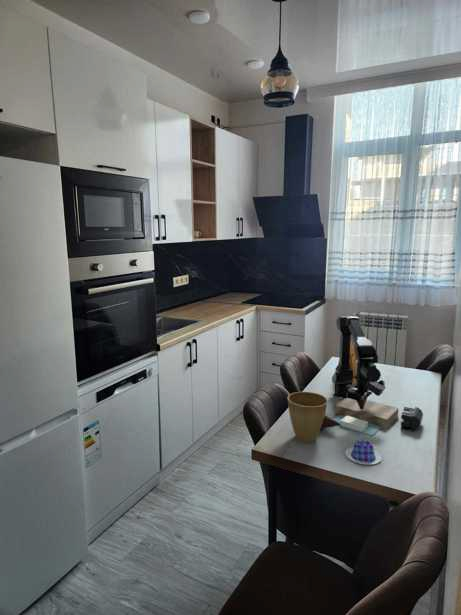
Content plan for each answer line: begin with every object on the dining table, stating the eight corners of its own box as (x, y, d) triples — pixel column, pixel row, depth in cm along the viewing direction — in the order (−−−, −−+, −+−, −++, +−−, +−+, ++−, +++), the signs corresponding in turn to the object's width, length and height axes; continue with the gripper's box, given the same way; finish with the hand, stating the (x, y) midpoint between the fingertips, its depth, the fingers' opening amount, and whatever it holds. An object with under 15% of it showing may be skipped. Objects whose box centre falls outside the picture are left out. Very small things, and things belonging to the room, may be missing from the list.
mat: (329, 422, 168) (329, 422, 168) (339, 415, 175) (339, 414, 175) (372, 436, 156) (372, 435, 156) (381, 427, 163) (381, 426, 163)
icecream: (343, 414, 161) (307, 409, 169) (338, 416, 155) (300, 411, 163) (342, 431, 161) (306, 426, 168) (337, 434, 154) (300, 429, 162)
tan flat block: (335, 413, 176) (335, 405, 176) (349, 403, 187) (349, 395, 186) (386, 428, 162) (386, 419, 162) (397, 416, 173) (398, 408, 172)
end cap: (419, 433, 158) (421, 417, 157) (400, 429, 162) (401, 413, 161) (422, 423, 167) (423, 408, 166) (403, 419, 170) (404, 404, 169)
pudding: (376, 448, 147) (376, 435, 147) (385, 467, 136) (386, 452, 135) (342, 447, 148) (343, 434, 148) (349, 465, 137) (349, 451, 136)
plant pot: (316, 451, 145) (318, 410, 142) (280, 440, 153) (280, 400, 151) (332, 435, 157) (333, 396, 154) (297, 425, 165) (298, 388, 163)
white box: (346, 415, 169) (346, 420, 169) (340, 420, 165) (340, 425, 165) (367, 421, 163) (367, 426, 164) (361, 426, 159) (361, 431, 159)
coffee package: (334, 384, 211) (335, 343, 208) (339, 377, 222) (341, 338, 219) (353, 387, 207) (355, 345, 203) (358, 380, 218) (360, 340, 214)
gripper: (374, 384, 155) (372, 422, 157) (391, 371, 169) (388, 407, 171) (346, 378, 162) (345, 414, 165) (365, 366, 176) (363, 400, 179)
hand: (361, 409), depth 170 cm, fingers closed
